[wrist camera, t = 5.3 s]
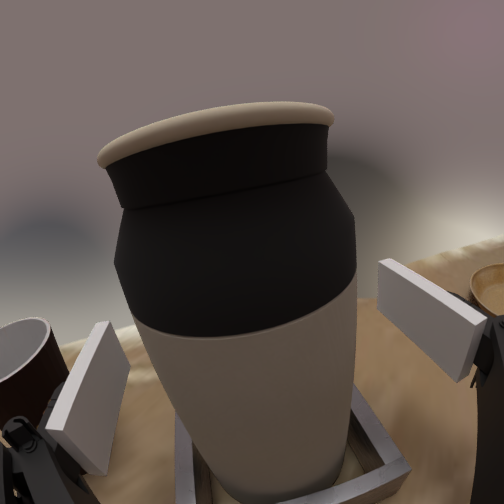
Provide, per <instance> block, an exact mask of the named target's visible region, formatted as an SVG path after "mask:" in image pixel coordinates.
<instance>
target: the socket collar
mask: <svg viewBox="0 0 504 504" xmlns="http://www.w3.org/2000/svg"><path fill="white" fill-rule="evenodd" d="M347 440H348V442H349V444H350V445H351V447H352V449H353V451H354V453H355V455H356V457H357V458H358V460H359V462H360V464H361V466H362V468H363V469H364V471H365V473H366V474H364V475H362V476H360V477H357V478H355V479H352V480H350V481H347V482H345V483H342V484H339V485H337V486H334V487H331V488H328V489H325V490H322V491H319V492H316V493H313V494H310V495H306V496H303V497H299V498H296V499H292V500H288V501H284V502H280V503H276V504H374V503H377V502H379V501H381V500H383V499H385V498H387V497H389V496H391V495H393V494H395V493H396V492H397V491H398V490H399V488H400V487H401V485H402V484H403V482H404V481H405V479H406V478H407V476H408V475H409V473H410V472H411V470H412V469H411V467H410V466H409V464H408V463H407V461H406V460H405V458H404V457H403V455H402V454H401V452H400V451H399V449H398V448H397V446H396V445H395V443H394V442H393V440H392V439H391V437H390V436H389V434H388V433H387V431H386V430H385V428H384V427H383V426H382V424H381V423H380V421H379V420H378V418H377V417H376V415H375V414H374V412H373V411H372V409H371V408H370V406H369V405H368V403H367V402H366V401H365V399H364V398H363V396H362V395H361V393H360V392H359V390H358V389H357V387H356V386H355V384H354V383H353V391H352V401H351V410H350V419H349V426H348V434H347ZM175 492H176V504H213V501H212V493H211V485H210V476H209V467H208V465H207V463H206V461H205V460H204V458H203V457H202V455H201V454H200V452H199V450H198V449H197V447H196V445H195V444H194V442H193V440H192V439H191V437H190V435H189V434H188V432H187V430H186V428H185V427H184V425H183V423H182V421H181V420H180V418H179V416H178V414H177V412H176V410H175Z"/></svg>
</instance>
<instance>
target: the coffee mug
mask: <svg viewBox="0 0 504 504" xmlns="http://www.w3.org/2000/svg"><path fill="white" fill-rule="evenodd" d="M69 374H70V373H69V371H68V369H67V366H66V364H65V362H64V359H63V357H62V355H61V352H60V350H59V347H58V345H57V342H56V340H55V337H54V334H53V331H52V329H51V326H50V324H49V322H48V321H47V320H46V319H43V318H39V317H31V318H24V319H20V320H17V321H14V322H11V323H9V324H6V325H4V326H2V327H0V430H1V431H2V430H3V428H4V426H5V424H6V423H7V422H8V421H9V420H10V419H12V418H14V417H16V416H24V417H26V418H27V419H28V420H29V422H30V423H31V424H32V425H33V426H34V428H35V429H36V430H37V428H38V426H39V423H40V421H41V419H42V416H43V414H44V412H45V410H46V408H47V405H48V403H49V401H51V400H50V399H51V397H52V395H53V393H54V390H55V389H56V388H57V387H58V386H59V385H60V384H61V383H62V382H66V380H67V378H68V376H69ZM86 473H87V472H86V471H85V470H84V469H83V468H82V467H81V468H80V472H79V474H80V475H84V474H86Z"/></svg>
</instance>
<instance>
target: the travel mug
mask: <svg viewBox="0 0 504 504" xmlns="http://www.w3.org/2000/svg"><path fill="white" fill-rule="evenodd" d="M333 122H334V115H333V113H332V112H331V111H330V110H329V109H327V108H325V107H323V106H320V105H315V104H310V103H300V102H258V103H246V104H237V105H229V106H223V107H216V108H211V109H205V110H200V111H196V112H191V113H187V114H183V115H179V116H175V117H172V118H168V119H165V120H162V121H159V122H156V123H153V124H150V125H147V126H144V127H142V128H139V129H137V130H134V131H132V132H129V133H128V134H125V135H123V136H121V137H119V138H117V139H115V140H114V141H112V142H110V143H109V144H108V145H106V146H105V147H104V148H103V149H102V150H101V151H100V152H99V154H98V156H97V162H98V164H99V166H100V167H102V168H103V169H106V171H107V173H108V175H109V177H110V178H111V180H112V183H113V186H114V189H115V191H116V194H117V197H118V199H119V202H120V205H121V207H122V208H124V211H123V216H122V221H121V225H120V230H119V236H118V241H117V246H116V252H115V258H114V265H115V268H116V271H117V274H118V277H119V280H120V283H121V286H122V289H123V292H124V295H125V297H126V300H127V303H128V306H129V308H130V311H131V314H132V316H133V319H134V322H135V324H136V327H137V329H138V332H139V334H140V336H141V339H142V341H143V344H144V346H145V348H146V351H147V353H148V355H149V357H150V360H151V362H152V364H153V366H154V368H155V371H156V373H157V375H158V377H159V379H160V381H161V383H162V385H163V387H164V389H165V391H166V393H167V395H168V397H169V399H170V401H171V403H172V405H173V407H174V409H175V410H176V412H177V414H178V416H179V418H180V420H181V421H182V423H183V425H184V427H185V428H186V430H187V432H188V434H189V435H190V437H191V439H192V440H193V442H194V444H195V445H196V447H197V449H198V450H199V452H200V454H201V455H202V457H203V458H204V460H205V461H206V463H207V465H208V466H209V468H210V469H211V471H212V472H213V474H214V475H215V477H216V478H217V480H218V481H219V482H220V484H221V485H222V487H223V488H224V489H225V491H226V492H227V493H228V494H229V495H231V496H232V497H233V498H234V499H236V500H237V501H239V502H241V503H243V504H276V503H280V502H284V501H288V500H292V499H296V498H299V497H303V496H306V495H310V494H313V493H316V492H319V491H322V490H325V489H328V488H330V487H331V486H332V484H333V483H334V482H335V480H336V479H337V477H338V475H339V473H340V471H341V468H342V465H343V459H344V453H345V447H346V441H347V434H348V426H349V419H350V410H351V401H352V391H353V380H354V367H355V351H356V327H357V263H356V238H355V222H354V216H353V214H352V212H351V210H350V209H349V207H348V206H347V204H346V202H345V201H344V199H343V198H342V196H341V194H340V193H339V191H338V190H337V188H336V187H335V185H334V183H333V182H332V180H331V179H330V177H329V176H328V174H327V173H326V171H325V170H326V169H327V138H328V130H329V127H330V126H331V125H332V124H333Z"/></svg>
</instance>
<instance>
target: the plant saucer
mask: <svg viewBox="0 0 504 504" xmlns="http://www.w3.org/2000/svg"><path fill="white" fill-rule="evenodd" d="M470 288H471V290H472V293H473V295H474V298H475V300H476V301H477V303H478V305H479V307H480V308H481V310H483V311H484V312H486V313H488V314H489V315H491V316H492V317H494V318H495V317H497V316H498V315H504V263H498V264H491V265H487V266H484V267H481V268H479V269H478V270H477V271H475V272H474V273H473V275H472V276H471V278H470Z"/></svg>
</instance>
